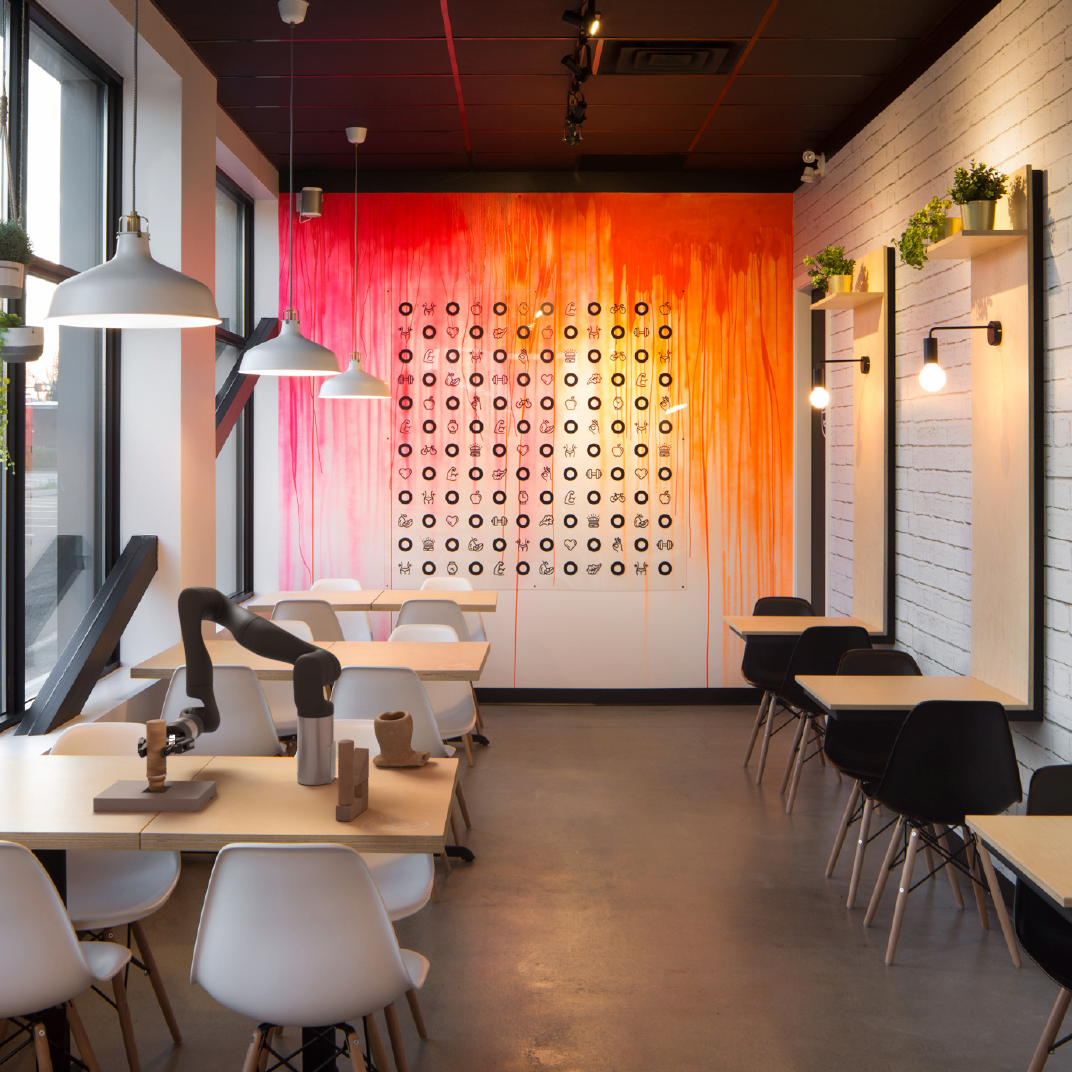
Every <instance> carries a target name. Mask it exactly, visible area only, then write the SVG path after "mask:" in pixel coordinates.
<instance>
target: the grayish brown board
mask: <svg viewBox="0 0 1072 1072" xmlns="http://www.w3.org/2000/svg"><path fill="white" fill-rule="evenodd" d="M217 783H218V782H217V780H164V788H163V789H160V790H150V789H149V781H148V780H140V779H139V780H131V779H130V780H129V779H127V780H120V779H119V780H117V781H115V782H114V783H113V784H112V785H109V787H107V788H106V789H104V790H102V792H100V793H99V794H97V795H96V796H94V797H93V799H92V800H93V801H92V802H93V808H92V809H93V810H92V811H93V812H172V813H173V812H174V813H175V812H183V813H184V812H186V813H187V812H188V811H189V812H191V813H195V811H196V813H197V812H199V811H200V810H201V809H202V808H203V807H204V806H205V805H207V803H208V802H209V801H210V800H211V799H212V798H213V797H214V796H215V795H216V794H217V793H218V791H217V789H218V788H217V785H218V784H217ZM211 797H212V798H211ZM210 798H211V799H210ZM207 801H208V802H207ZM206 802H207V803H206ZM204 804H205V805H204ZM203 805H204V806H203ZM202 806H203V807H202ZM201 807H202V808H201ZM200 808H201V809H200ZM199 809H200V810H199ZM198 810H199V811H198ZM192 811H193V812H192Z"/></svg>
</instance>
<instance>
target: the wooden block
mask: <svg viewBox="0 0 1072 1072" xmlns="http://www.w3.org/2000/svg"><path fill="white" fill-rule="evenodd" d="M337 754H338V755H337V759H338V760H337V761H338V762H337V804H336V805H335V821H337V820H339V822H348V823H349V822H351V821H353V820H354V819H355V818H356V817H358V816H359V815H360V814H361V812H362V813H363V812H364V811H366V810H367V809H368V808H369V778H370V775H369V774H370V749H369V748H366V747H364V748H363V747H355V741H354V740H353V739H346V738H345V739H341V740H339V741H338V743H337ZM366 808H367V809H366ZM365 809H366V810H365ZM352 819H353V820H352Z"/></svg>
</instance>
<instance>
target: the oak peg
mask: <svg viewBox="0 0 1072 1072" xmlns="http://www.w3.org/2000/svg"><path fill="white" fill-rule="evenodd" d="M145 723H146V725H145V726H146V727H145V729H146V731H145V734H146V738H145V739H146V747H147V756H146V778H147V781H149V789H150V790H160V789H163V788H164V781H166V779H167V778H166V777H167V776H168V773H167V770H168V769H167V757H165V758H161V749H162V748H164V747H165V746H166V725H167V720H166V719H158V718H157V719H152V720H148V721H147V720H146V722H145Z"/></svg>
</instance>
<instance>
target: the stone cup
mask: <svg viewBox="0 0 1072 1072" xmlns="http://www.w3.org/2000/svg"><path fill="white" fill-rule="evenodd" d="M373 728H374V735H375V738H376V740H377V743H378V746H379V749H380V753H379V754H377V755H375V757H374V758H373V759H372V763H373V765H374V766H378V767H379V766H380V767H423V766H425V765H426V763H428V762H429V760H430V758H431V756H432V754H431V751H421V750H420V751H419V750H414V749H413V748H412V739H413V733H414V721H413V717H412V715H411V713H410V712H408V711H407V710H404V709H403V710H401V709H397V710H393V711H384V712H381V713H379V714H378V715H376V717H375V718H374V721H373Z"/></svg>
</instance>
